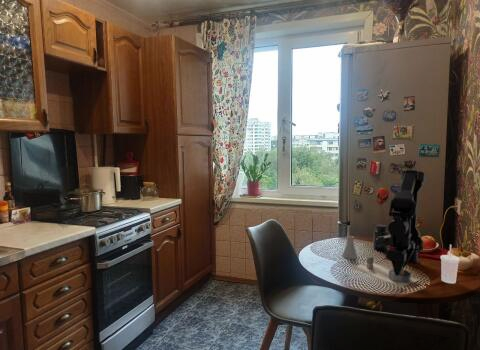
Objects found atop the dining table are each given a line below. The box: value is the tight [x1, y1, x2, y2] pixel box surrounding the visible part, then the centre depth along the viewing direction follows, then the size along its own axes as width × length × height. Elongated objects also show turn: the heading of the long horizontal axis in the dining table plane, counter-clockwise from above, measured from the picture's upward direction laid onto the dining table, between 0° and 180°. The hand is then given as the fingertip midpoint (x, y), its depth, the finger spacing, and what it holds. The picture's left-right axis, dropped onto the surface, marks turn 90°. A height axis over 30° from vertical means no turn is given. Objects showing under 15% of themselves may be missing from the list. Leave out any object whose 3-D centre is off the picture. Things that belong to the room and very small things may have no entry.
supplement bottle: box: [372, 223, 390, 253], centre depth 160 cm, size 7×7×12 cm
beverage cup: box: [439, 244, 461, 284], centre depth 125 cm, size 6×6×14 cm
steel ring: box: [389, 268, 412, 283], centre depth 125 cm, size 7×7×2 cm
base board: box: [350, 255, 421, 288], centre depth 130 cm, size 12×22×6 cm, turn 32°
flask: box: [341, 235, 358, 260], centre depth 149 cm, size 7×7×10 cm
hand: (399, 271), depth 125 cm, fingers open, 9 cm apart
